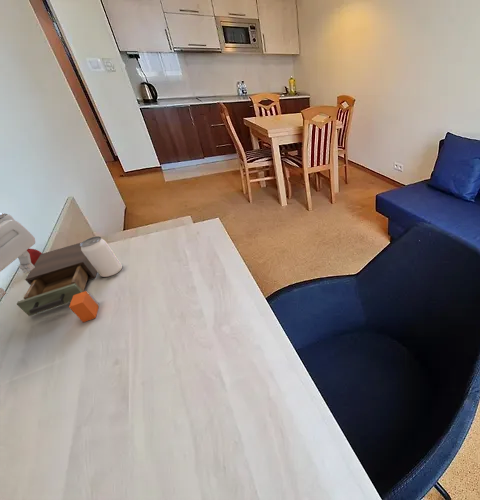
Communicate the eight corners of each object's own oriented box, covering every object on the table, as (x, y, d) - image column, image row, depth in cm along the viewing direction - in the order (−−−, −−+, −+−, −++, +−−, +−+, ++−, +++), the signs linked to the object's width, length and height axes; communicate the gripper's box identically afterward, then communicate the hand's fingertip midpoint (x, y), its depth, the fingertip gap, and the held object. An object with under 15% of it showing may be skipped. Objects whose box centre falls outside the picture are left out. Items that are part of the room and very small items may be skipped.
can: (104, 268, 102) (82, 239, 95) (125, 263, 103) (105, 233, 96) (98, 280, 97) (74, 249, 90) (120, 274, 98) (99, 243, 91)
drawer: (82, 305, 85) (71, 293, 83) (23, 326, 81) (10, 313, 78) (93, 271, 99) (84, 259, 97) (43, 286, 95) (33, 275, 92)
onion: (34, 263, 109) (17, 245, 104) (52, 259, 110) (37, 241, 105) (25, 273, 104) (7, 254, 100) (44, 268, 106) (27, 250, 101)
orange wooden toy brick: (83, 322, 81) (68, 306, 78) (87, 307, 86) (74, 291, 83) (95, 317, 82) (82, 302, 79) (99, 302, 87) (87, 287, 84)
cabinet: (95, 277, 98) (82, 261, 94) (40, 295, 93) (24, 279, 89) (102, 254, 109) (91, 239, 106) (53, 269, 105) (40, 254, 101)
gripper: (-11, 211, 70) (31, 259, 78) (-102, 264, 53) (-36, 317, 61) (18, 207, 71) (57, 254, 79) (-62, 257, 54) (-3, 311, 62)
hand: (16, 282), depth 70 cm, fingers open, 8 cm apart
